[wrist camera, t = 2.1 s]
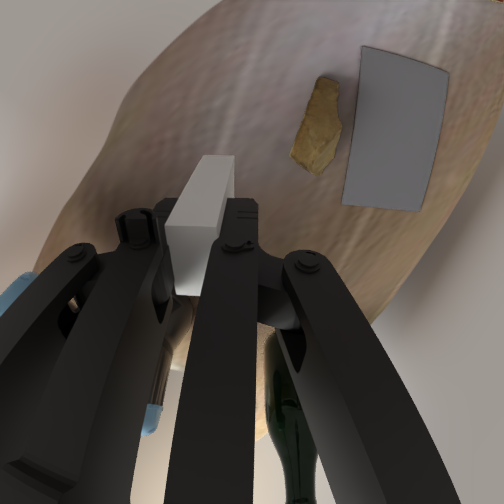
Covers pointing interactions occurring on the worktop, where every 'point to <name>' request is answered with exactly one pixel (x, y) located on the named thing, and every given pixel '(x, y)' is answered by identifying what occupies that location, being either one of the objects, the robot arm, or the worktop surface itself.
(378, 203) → the mat
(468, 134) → the worktop surface
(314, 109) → the yellow wedge
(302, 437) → the dark green wine bottle
